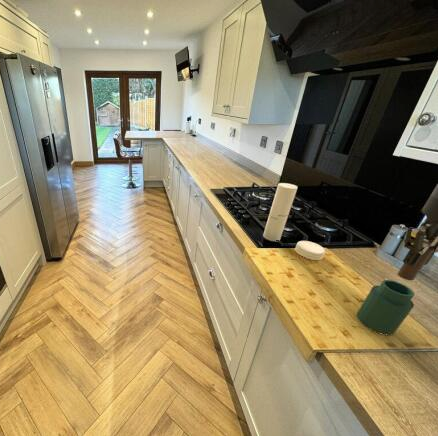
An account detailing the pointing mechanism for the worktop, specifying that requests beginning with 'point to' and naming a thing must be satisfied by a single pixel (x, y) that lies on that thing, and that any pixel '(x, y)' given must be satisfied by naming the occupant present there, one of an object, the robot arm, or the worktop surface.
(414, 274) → the dark brown cylinder
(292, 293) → the worktop surface
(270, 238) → the cylindrical container
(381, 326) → the green jar
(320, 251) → the cream round disc
